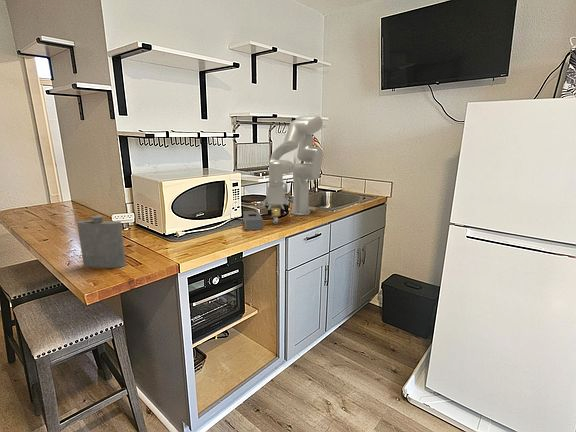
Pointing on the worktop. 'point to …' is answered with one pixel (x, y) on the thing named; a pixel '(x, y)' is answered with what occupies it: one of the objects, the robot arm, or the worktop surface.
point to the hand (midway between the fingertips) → (275, 215)
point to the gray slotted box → (252, 220)
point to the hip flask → (101, 243)
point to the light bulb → (275, 214)
